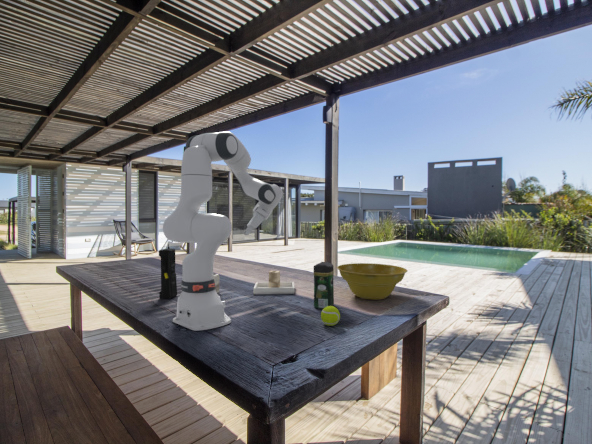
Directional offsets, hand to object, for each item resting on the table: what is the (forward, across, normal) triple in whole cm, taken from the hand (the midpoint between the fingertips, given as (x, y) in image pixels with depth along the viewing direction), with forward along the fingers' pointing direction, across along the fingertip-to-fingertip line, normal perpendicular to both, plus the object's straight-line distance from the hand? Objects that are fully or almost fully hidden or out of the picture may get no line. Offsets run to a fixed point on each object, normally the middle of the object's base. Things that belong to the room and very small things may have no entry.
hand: (245, 234), depth 160 cm
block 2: (+14, +3, +28) cm, 31 cm away
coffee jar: (+8, +36, +42) cm, 55 cm away
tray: (+15, +3, +28) cm, 32 cm away
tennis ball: (+12, +58, +39) cm, 70 cm away
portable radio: (+45, +3, -12) cm, 47 cm away
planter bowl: (-9, +25, +63) cm, 69 cm away
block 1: (+33, 0, +4) cm, 33 cm away
